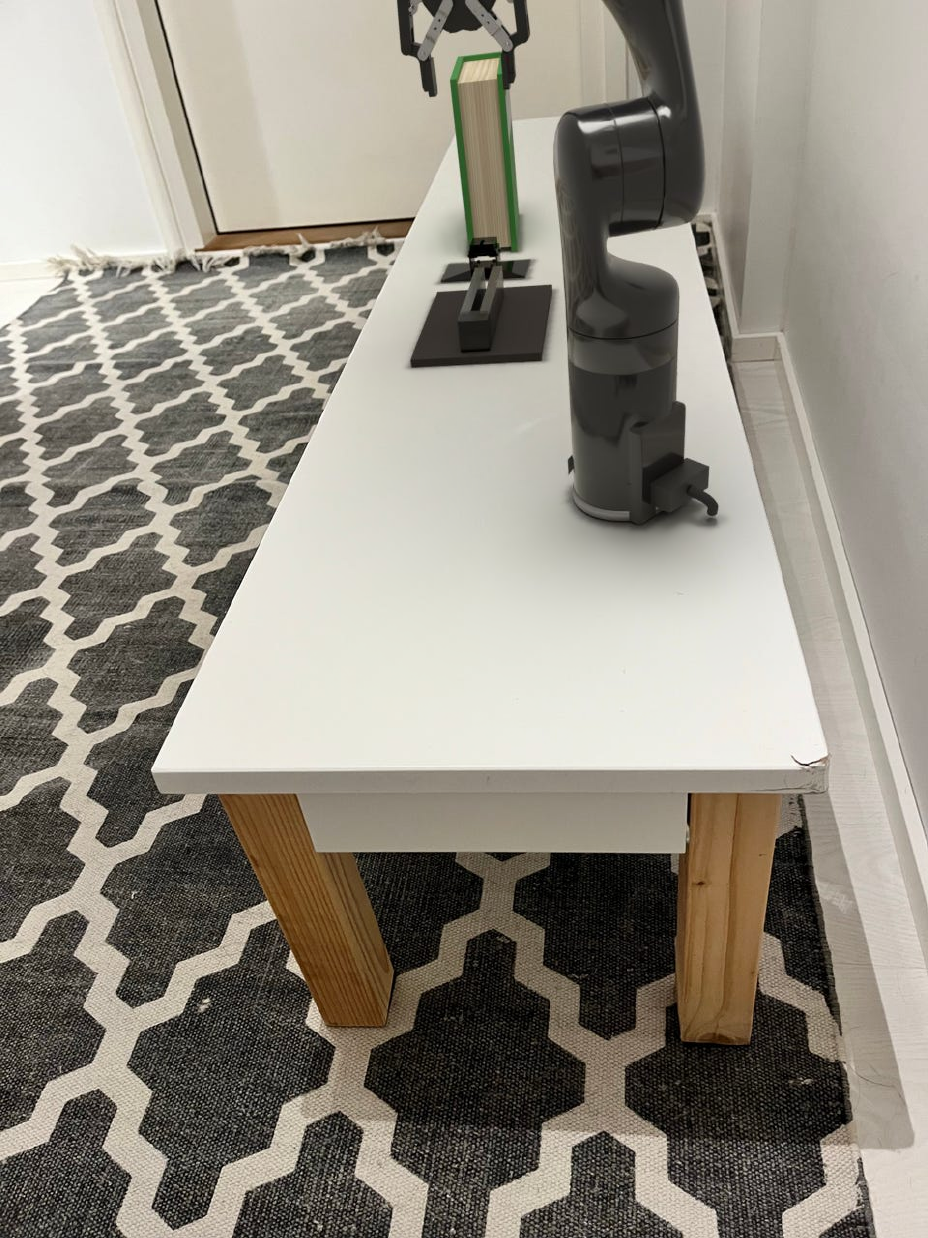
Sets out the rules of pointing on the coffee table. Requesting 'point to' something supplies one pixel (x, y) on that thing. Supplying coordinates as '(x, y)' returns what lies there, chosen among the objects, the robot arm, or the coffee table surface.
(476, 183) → the hardback book
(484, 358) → the mat
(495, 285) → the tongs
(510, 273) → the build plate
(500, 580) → the coffee table surface
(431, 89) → the robot arm
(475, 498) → the coffee table surface
